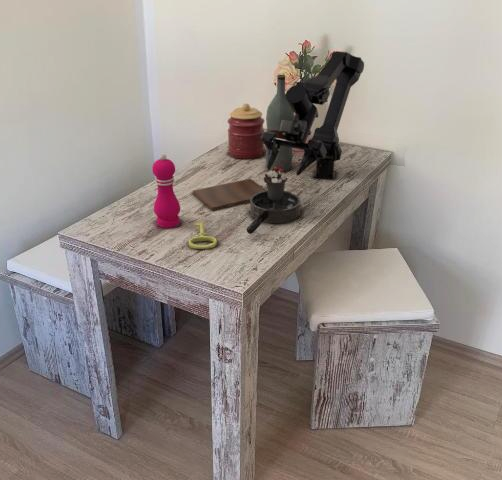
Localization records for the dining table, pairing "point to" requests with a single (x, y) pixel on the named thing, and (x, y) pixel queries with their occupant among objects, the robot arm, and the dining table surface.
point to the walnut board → (228, 194)
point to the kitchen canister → (245, 133)
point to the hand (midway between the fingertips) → (282, 171)
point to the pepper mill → (165, 193)
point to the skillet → (286, 203)
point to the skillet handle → (257, 222)
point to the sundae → (275, 185)
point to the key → (202, 238)
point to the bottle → (275, 114)
